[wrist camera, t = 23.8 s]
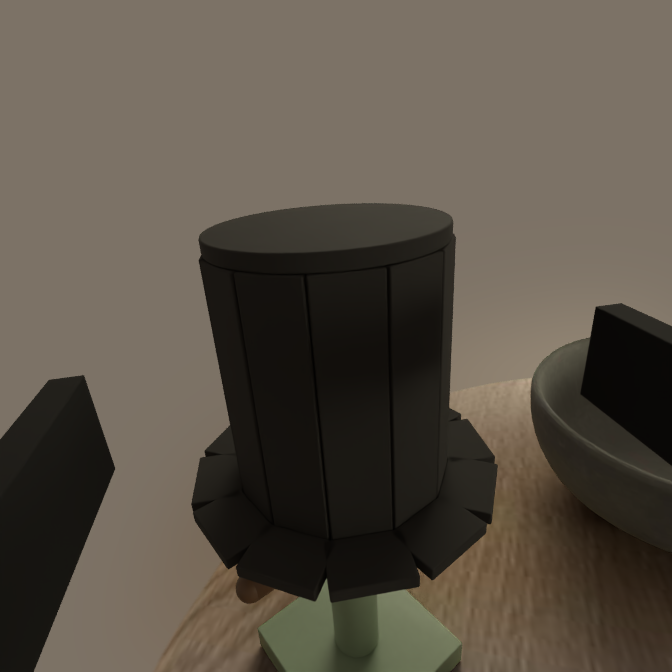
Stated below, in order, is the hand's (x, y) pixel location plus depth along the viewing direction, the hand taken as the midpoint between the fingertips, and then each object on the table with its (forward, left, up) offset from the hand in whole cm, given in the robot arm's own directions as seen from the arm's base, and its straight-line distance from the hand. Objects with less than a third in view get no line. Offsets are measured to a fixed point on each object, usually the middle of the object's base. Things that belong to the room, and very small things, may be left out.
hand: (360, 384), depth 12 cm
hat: (+3, +5, -7) cm, 9 cm away
